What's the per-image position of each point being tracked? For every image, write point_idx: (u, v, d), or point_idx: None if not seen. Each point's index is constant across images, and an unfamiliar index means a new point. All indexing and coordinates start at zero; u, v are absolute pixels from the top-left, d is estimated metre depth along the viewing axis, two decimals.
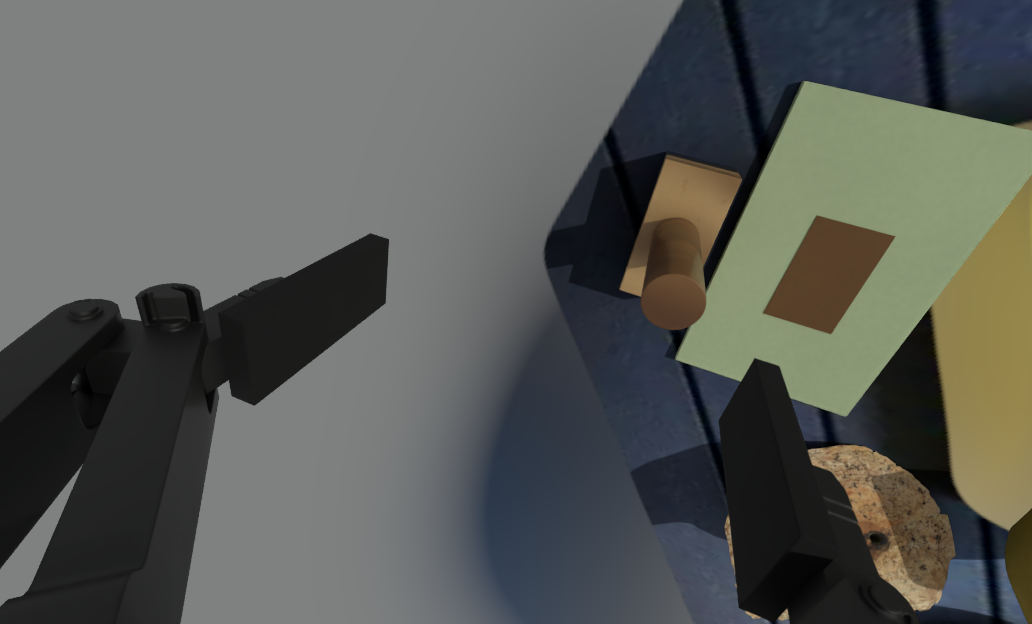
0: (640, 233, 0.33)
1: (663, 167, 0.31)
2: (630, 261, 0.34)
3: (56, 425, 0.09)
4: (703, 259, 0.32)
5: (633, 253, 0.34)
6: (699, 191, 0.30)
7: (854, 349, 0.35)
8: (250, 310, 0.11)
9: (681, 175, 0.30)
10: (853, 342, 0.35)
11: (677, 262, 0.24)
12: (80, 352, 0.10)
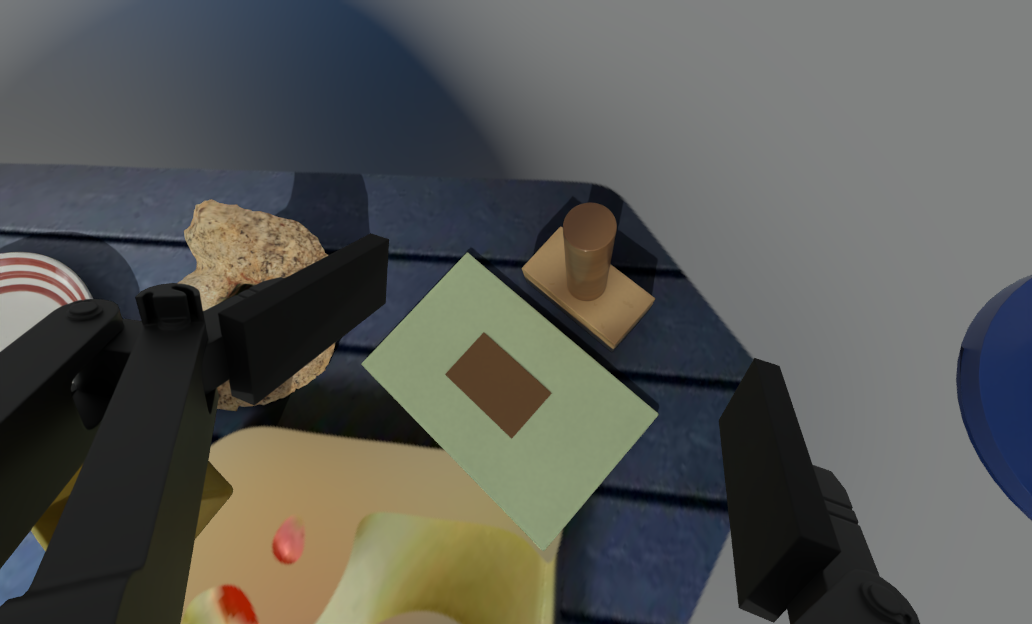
0: None
1: (649, 294, 0.37)
2: None
3: (56, 425, 0.09)
4: (560, 297, 0.38)
5: None
6: (618, 313, 0.37)
7: (424, 386, 0.40)
8: (250, 310, 0.11)
9: (637, 305, 0.37)
10: (430, 388, 0.40)
11: (612, 247, 0.29)
12: (80, 352, 0.10)
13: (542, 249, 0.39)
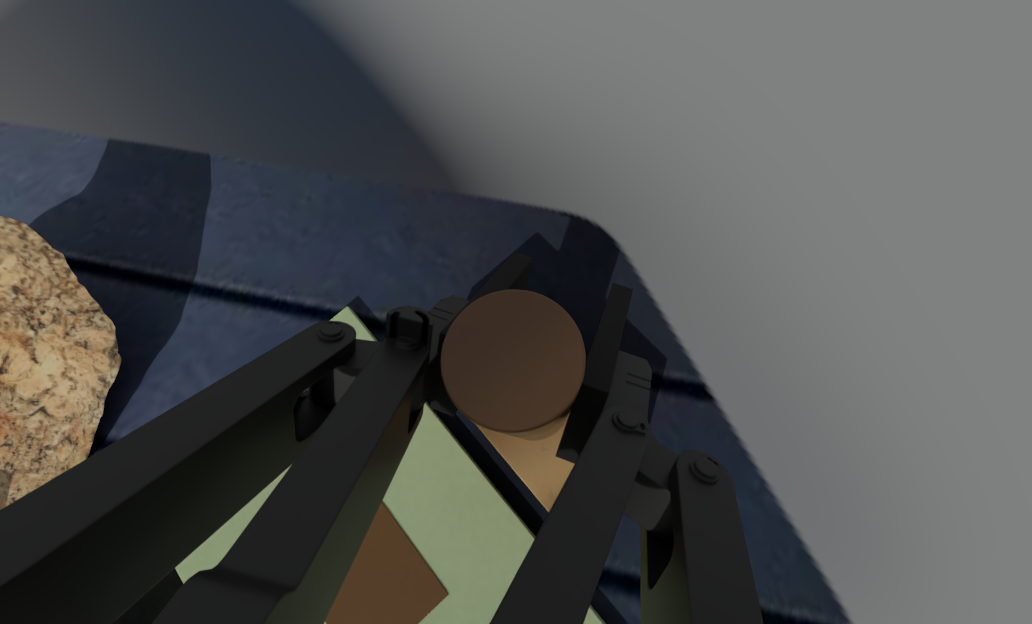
0: None
1: None
2: None
3: (273, 435, 0.10)
4: None
5: None
6: None
7: (226, 545, 0.22)
8: None
9: None
10: None
11: (570, 406, 0.11)
12: (312, 372, 0.10)
13: None
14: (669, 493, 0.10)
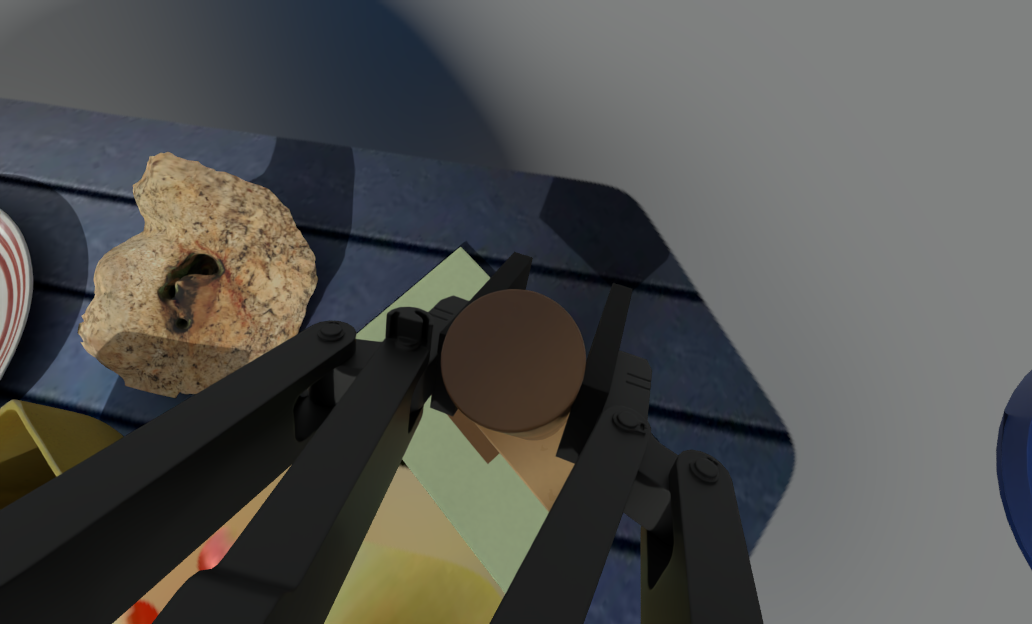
0: None
1: None
2: None
3: (273, 434, 0.10)
4: None
5: None
6: None
7: None
8: None
9: None
10: None
11: (570, 406, 0.11)
12: (312, 372, 0.10)
13: None
14: (669, 493, 0.10)
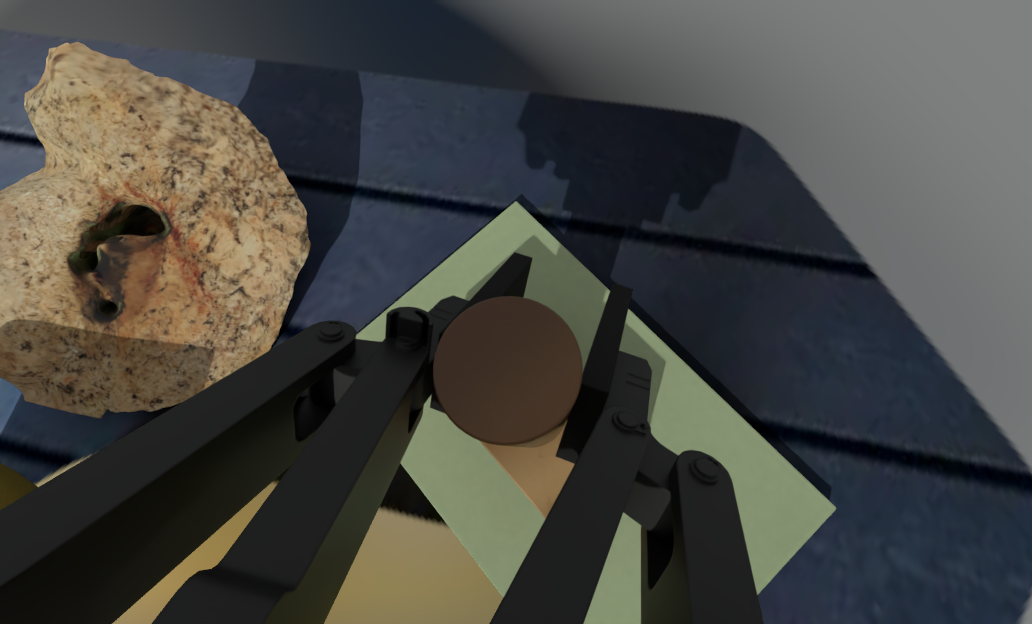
0: None
1: None
2: None
3: (273, 434, 0.10)
4: None
5: None
6: None
7: (425, 412, 0.24)
8: None
9: None
10: (436, 415, 0.24)
11: (567, 416, 0.11)
12: (312, 372, 0.10)
13: None
14: (669, 493, 0.10)
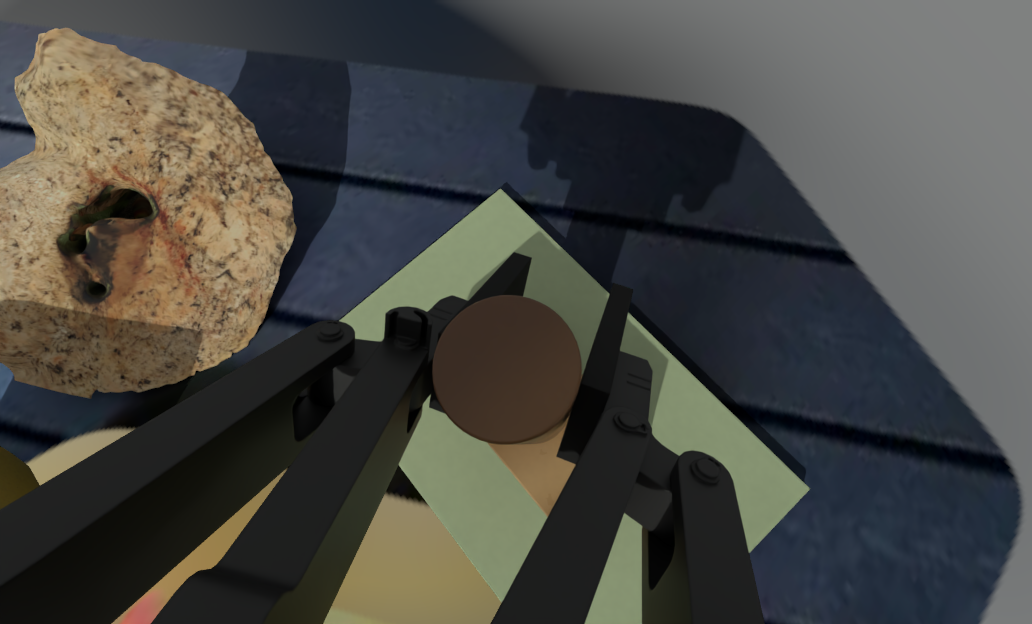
0: None
1: None
2: None
3: (272, 434, 0.10)
4: None
5: None
6: None
7: None
8: None
9: None
10: None
11: (566, 415, 0.11)
12: (311, 372, 0.10)
13: None
14: (670, 494, 0.10)
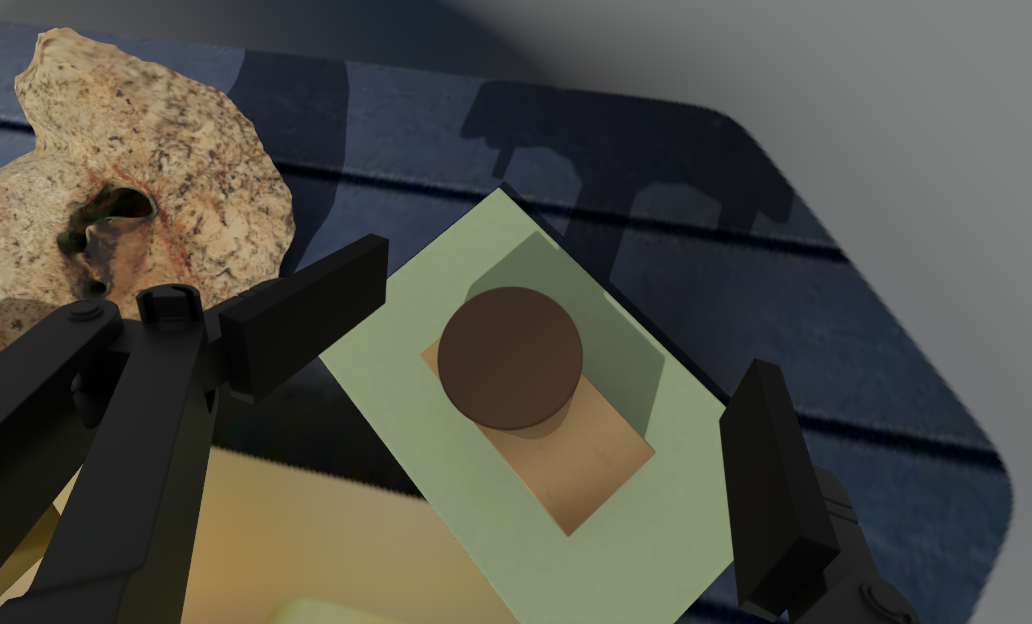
0: None
1: (645, 443, 0.19)
2: None
3: (56, 425, 0.09)
4: None
5: None
6: (583, 471, 0.19)
7: (407, 392, 0.24)
8: (250, 310, 0.11)
9: (620, 460, 0.19)
10: (417, 395, 0.24)
11: (567, 404, 0.11)
12: (80, 352, 0.10)
13: None
14: None
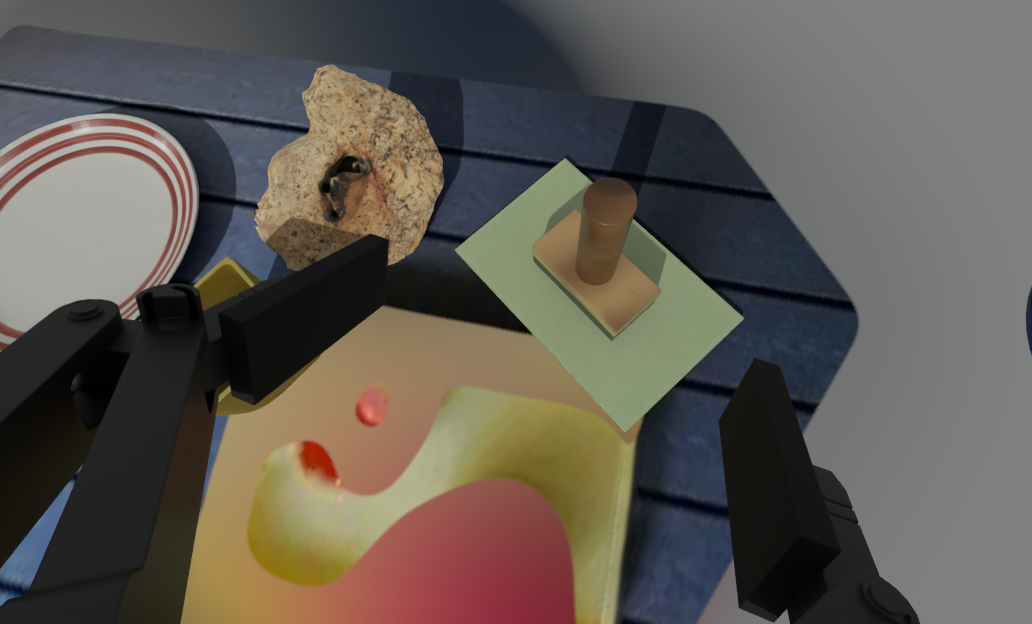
0: None
1: (656, 286, 0.36)
2: None
3: (56, 425, 0.09)
4: (567, 278, 0.37)
5: None
6: (623, 300, 0.36)
7: (516, 275, 0.41)
8: (250, 310, 0.11)
9: (643, 294, 0.36)
10: (522, 276, 0.41)
11: (629, 226, 0.28)
12: (80, 352, 0.10)
13: (554, 228, 0.39)
14: None
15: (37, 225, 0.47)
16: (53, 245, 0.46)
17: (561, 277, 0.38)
